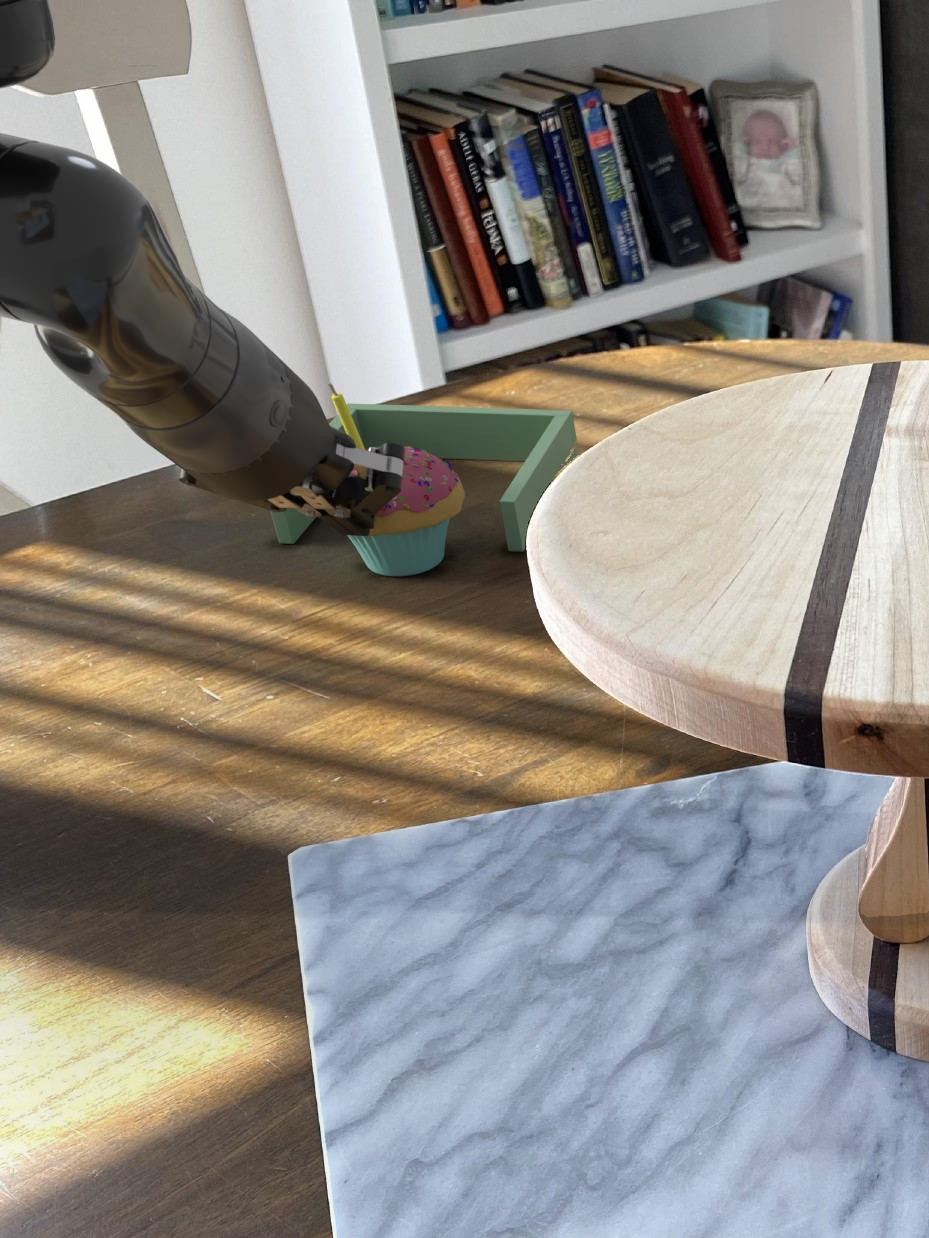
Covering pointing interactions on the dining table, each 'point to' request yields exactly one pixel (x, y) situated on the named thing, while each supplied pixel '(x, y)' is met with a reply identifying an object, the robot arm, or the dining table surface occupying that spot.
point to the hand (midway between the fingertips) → (358, 520)
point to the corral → (467, 450)
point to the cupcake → (408, 511)
